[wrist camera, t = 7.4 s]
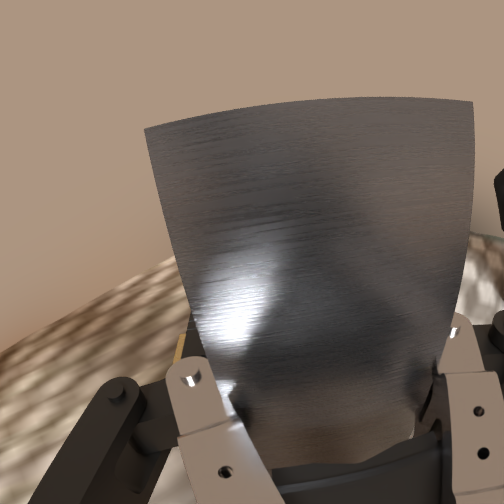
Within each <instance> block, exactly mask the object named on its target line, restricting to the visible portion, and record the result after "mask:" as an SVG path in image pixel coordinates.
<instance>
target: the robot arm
mask: <svg viewBox="0 0 504 504" xmlns="http://www.w3.org/2000/svg"><path fill="white" fill-rule="evenodd" d="M432 379H433V382H432V385H431V388H430V390H429V393H428V395H427V398H426V400H425V403H423V404H420V405H418V407H417V410H416V412H415V428H414V436H413V438H412V439H409V440H406V441H403V442H399V443H397V444H395V445H393V446H392V447H390V448H388V449H386V450H385V451H383V452H381V453H379V454H377V455H375V456H373V457H372V458H370V459H368V460H366V461H364V462H361V463H356V464H331V463H311V464H305V465H298V466H291V467H283V468H275V469H272V479H271V477H270V475H269V474H268V472H267V470H266V468H265V466H264V464H263V462H262V461H261V459H260V457H259V455H258V453H257V451H256V449H255V447H254V445H253V443H252V441H251V439H250V437H249V436H248V434H247V432H246V430H245V428H244V426H243V424H242V422H241V420H240V418H239V416H237V415H236V413H235V411H234V409H233V407H232V404H231V402H230V400H229V398H228V397H221V395H220V392H219V389H218V387H217V384H216V381H215V378H214V376H213V373H212V370H211V367H210V365H209V362H208V359H207V356H206V353H205V350H204V347H203V344H202V342H201V339H200V336H199V333H198V330H197V327H196V324H195V321H194V317H193V314H192V311H191V314H190V318H189V323H188V327H187V332H186V336H185V341H184V345H183V350H182V355H181V360H179V361H177V362H176V363H174V364H173V365H172V366H171V367H170V368H169V370H168V371H167V374H166V378H165V379H163V380H160V381H158V382H154V383H151V384H147V385H144V386H140V387H139V385H138V384H137V382H136V381H135V380H133V379H131V378H128V377H117V378H113V379H111V380H109V381H107V382H106V383H104V384H103V385H102V386H101V387H100V389H99V390H98V391H97V393H96V394H95V396H94V397H93V399H92V400H91V402H90V403H89V405H88V406H87V408H86V409H85V411H84V413H83V414H82V416H81V417H80V419H79V420H78V422H77V423H76V425H75V426H74V428H73V430H72V431H71V433H70V434H69V436H68V437H67V439H66V441H65V442H64V444H63V445H62V447H61V449H60V450H59V452H58V453H57V455H56V457H55V458H54V460H53V461H52V463H51V465H50V466H49V468H48V470H47V471H46V473H45V475H44V476H43V478H42V480H41V481H40V483H39V485H38V486H37V488H36V490H35V492H34V493H33V495H32V497H31V499H30V500H29V502H28V504H148V502H149V499H150V497H151V495H152V492H153V490H154V488H155V486H156V483H157V481H158V479H159V476H160V474H161V472H162V469H163V467H164V465H165V463H166V460H167V458H168V456H169V453H170V451H171V449H172V448H173V447H176V446H179V449H180V452H181V455H182V458H183V462H184V465H185V468H186V471H187V474H188V477H189V480H190V483H191V486H192V489H193V492H194V495H195V497H196V500H197V503H198V504H504V310H502V311H499V312H497V313H496V314H495V316H494V318H493V321H492V324H488V325H472V324H471V322H470V321H469V319H468V318H466V317H465V316H463V315H462V314H459V313H456V312H454V315H453V319H452V323H451V327H450V330H449V334H448V337H447V340H446V344H445V347H444V350H443V353H442V354H440V355H436V356H435V360H434V363H433V366H432Z"/></svg>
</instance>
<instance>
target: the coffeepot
mask: <svg viewBox="0 0 504 504" xmlns="http://www.w3.org/2000/svg"><path fill="white" fill-rule="evenodd" d="M494 188H495V192H496V197H497V202H498V208H499V213H500V221H501V227H502V230H503V231H504V169H503V170H502V171H501V172H500V173H499V174H498V175H497V176H496V177H495V179H494Z"/></svg>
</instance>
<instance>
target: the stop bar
mask: <svg viewBox="0 0 504 504" xmlns="http://www.w3.org/2000/svg"><path fill="white" fill-rule="evenodd" d="M144 132H145V136H146V142H147V146H148V151H149V156H150V160H151V164H152V169H153V173H154V178H155V182H156V186H157V190H158V194H159V198H160V202H161V206H162V210H163V214H164V218H165V221H166V226H167V229H168V233H169V237H170V240H171V244H172V248H173V251H174V255H175V258H176V262H177V265H178V269H179V272H180V276H181V279H182V282H183V286H184V289H185V292H186V295H187V299H188V302H189V305H190V308H191V311H192V314H193V317H194V321H195V324H196V327H197V330H198V333H199V336H200V339H201V342H202V344H203V347H204V350H205V353H206V356H207V359H208V362H209V365H210V367H211V370H212V373H213V376H214V378H215V381H216V384H217V387H218V389H219V392H220V395H221V397H228V398H229V400H230V402H231V404H232V407H233V409H234V411H235V413H236V415H237V416H239V418H240V420H241V422H242V424H243V426H244V428H245V430H246V432H247V434H248V436H249V437H250V439H251V441H252V443H253V445H254V447H255V449H256V451H257V453H258V455H259V457H260V459H261V461H262V462H263V464H264V466H265V468H266V470H267V472H268V474H269V475H270V477H271V479H272V469H275V468H283V467H291V466H298V465H305V464H311V463H331V464H356V463H361V462H364V461H366V460H368V459H370V458H372V457H373V456H375V455H377V454H379V453H381V452H383V451H385V450H386V449H388V448H390V447H392V446H393V445H395V444H397V443H399V442H403V441H406V440H408V439H409V437H410V434H411V432H412V430H413V428H414V426H415V412H416V410H417V407H418V405H420V404H423V403H425V400H426V398H427V395H428V393H429V390H430V388H431V385H432V382H433V379H432V366H433V363H434V360H435V356H436V355H440V354H442V353H443V350H444V347H445V344H446V340H447V337H448V334H449V330H450V327H451V323H452V319H453V315H454V311H455V307H456V303H457V299H458V294H459V290H460V285H461V280H462V275H463V270H464V264H465V259H466V253H467V246H468V239H469V231H470V222H471V214H472V203H473V188H474V164H475V138H474V137H475V135H474V112H473V102H470V101H460V100H449V99H435V98H415V97H355V98H332V99H317V100H305V101H294V102H286V103H276V104H268V105H261V106H253V107H247V108H240V109H234V110H229V111H222V112H217V113H212V114H206V115H202V116H197V117H192V118H187V119H183V120H178V121H174V122H169V123H166V124H161V125H157V126H154V127H150V128H146V129H144Z"/></svg>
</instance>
